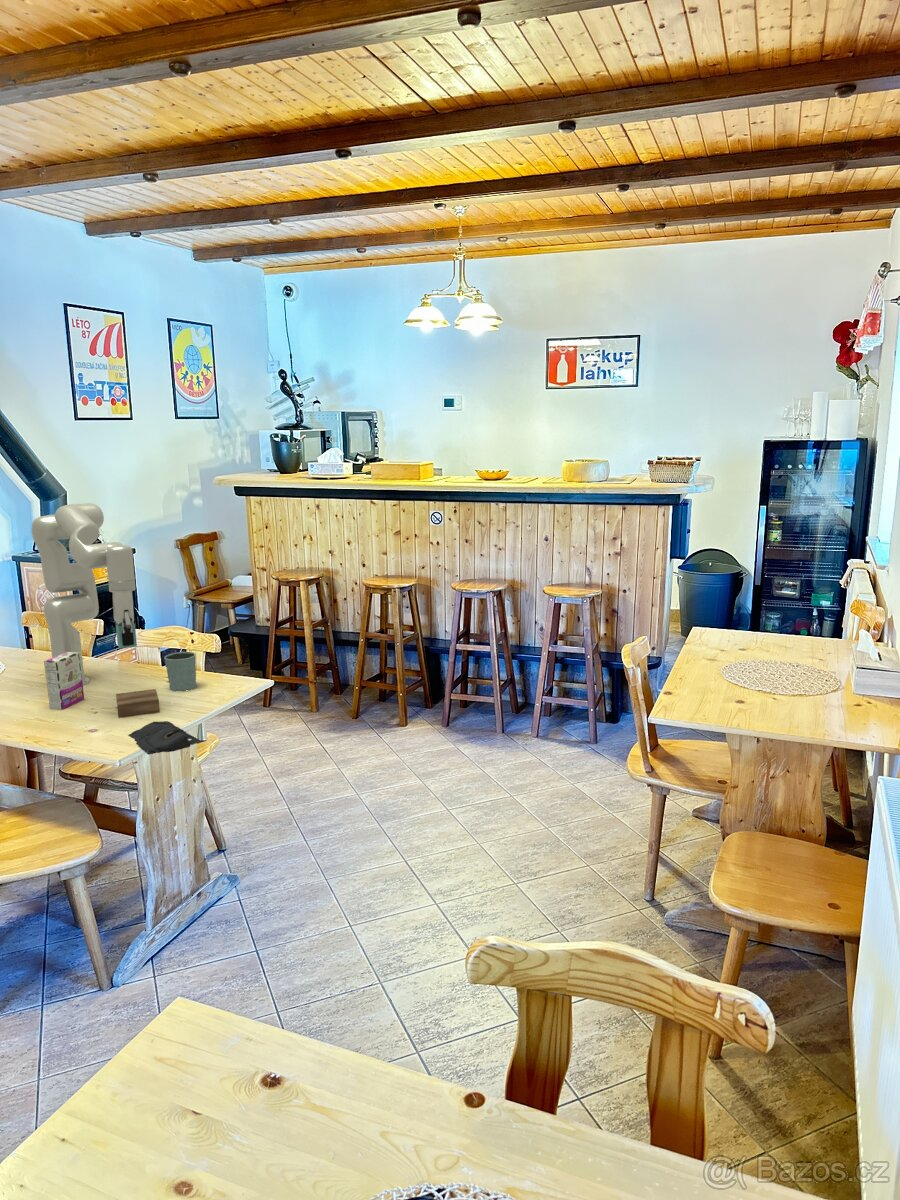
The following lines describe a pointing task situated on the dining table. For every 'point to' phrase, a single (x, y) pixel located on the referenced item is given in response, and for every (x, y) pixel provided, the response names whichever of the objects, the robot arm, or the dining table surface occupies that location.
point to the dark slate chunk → (162, 738)
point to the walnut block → (137, 703)
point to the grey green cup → (181, 670)
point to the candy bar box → (64, 680)
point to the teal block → (119, 635)
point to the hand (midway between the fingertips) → (127, 642)
